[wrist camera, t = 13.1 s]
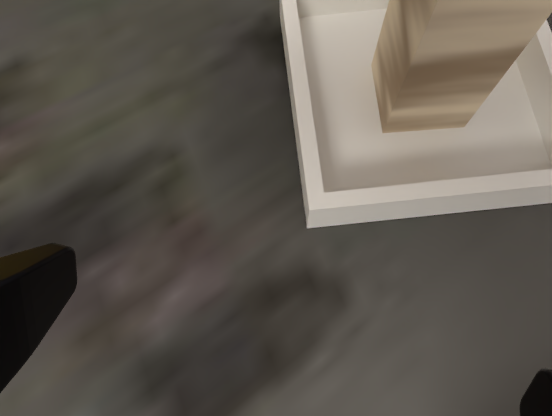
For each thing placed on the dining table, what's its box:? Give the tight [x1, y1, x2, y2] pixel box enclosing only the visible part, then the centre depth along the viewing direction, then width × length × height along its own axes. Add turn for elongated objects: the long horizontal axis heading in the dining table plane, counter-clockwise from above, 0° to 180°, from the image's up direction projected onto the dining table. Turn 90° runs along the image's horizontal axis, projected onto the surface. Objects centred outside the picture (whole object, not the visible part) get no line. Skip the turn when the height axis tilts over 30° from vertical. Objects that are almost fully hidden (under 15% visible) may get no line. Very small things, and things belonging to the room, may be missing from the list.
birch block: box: [371, 0, 552, 133], centre depth 18 cm, size 5×5×13 cm
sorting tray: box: [280, 0, 552, 228], centre depth 24 cm, size 14×14×3 cm
